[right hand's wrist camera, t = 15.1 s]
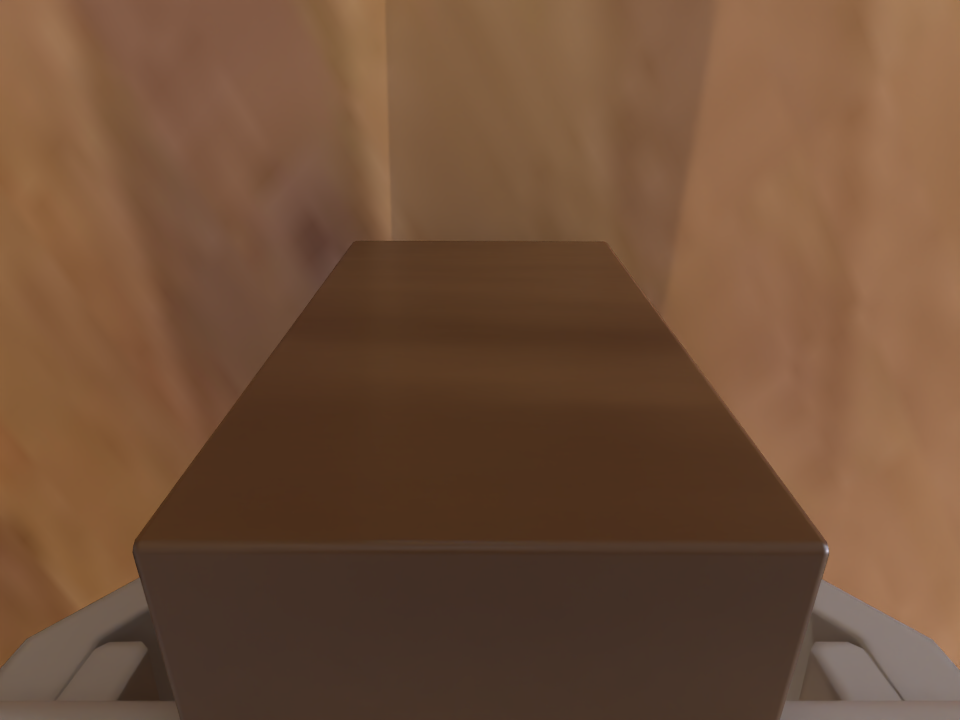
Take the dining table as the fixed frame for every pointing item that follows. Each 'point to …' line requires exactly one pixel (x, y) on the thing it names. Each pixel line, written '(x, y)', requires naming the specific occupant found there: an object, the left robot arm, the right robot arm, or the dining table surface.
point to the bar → (480, 511)
